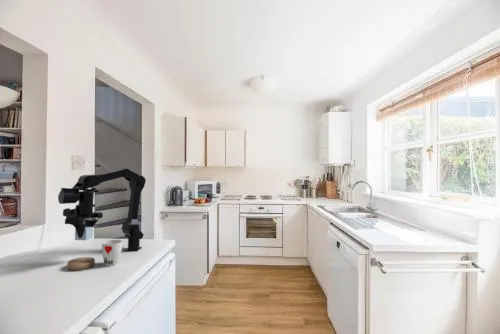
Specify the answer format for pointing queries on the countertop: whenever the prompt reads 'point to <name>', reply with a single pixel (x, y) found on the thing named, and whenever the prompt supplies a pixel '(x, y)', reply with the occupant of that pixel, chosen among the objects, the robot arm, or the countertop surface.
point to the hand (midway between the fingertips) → (84, 236)
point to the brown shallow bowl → (80, 264)
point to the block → (85, 234)
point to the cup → (111, 251)
